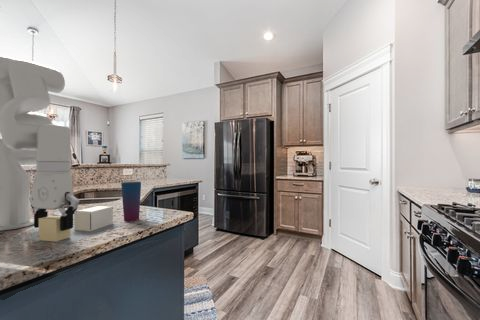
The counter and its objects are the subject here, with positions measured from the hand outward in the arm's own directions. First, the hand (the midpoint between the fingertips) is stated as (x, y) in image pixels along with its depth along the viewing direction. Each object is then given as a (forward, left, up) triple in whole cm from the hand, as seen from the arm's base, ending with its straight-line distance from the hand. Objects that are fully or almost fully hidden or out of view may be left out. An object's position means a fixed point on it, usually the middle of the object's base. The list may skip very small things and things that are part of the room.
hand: (53, 227), depth 64 cm
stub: (+1, 0, -3) cm, 3 cm away
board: (+1, +8, -4) cm, 9 cm away
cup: (+7, +23, -4) cm, 24 cm away
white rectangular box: (+1, +13, -3) cm, 13 cm away
